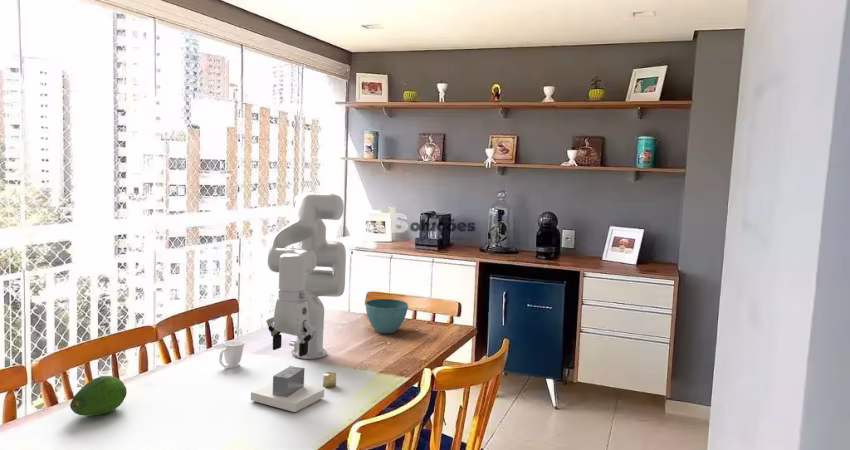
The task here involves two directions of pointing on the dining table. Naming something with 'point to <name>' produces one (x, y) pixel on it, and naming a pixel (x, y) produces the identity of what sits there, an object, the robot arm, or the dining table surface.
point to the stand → (291, 403)
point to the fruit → (99, 396)
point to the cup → (232, 353)
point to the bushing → (329, 380)
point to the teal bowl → (386, 314)
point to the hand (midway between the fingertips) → (289, 351)
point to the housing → (288, 381)
